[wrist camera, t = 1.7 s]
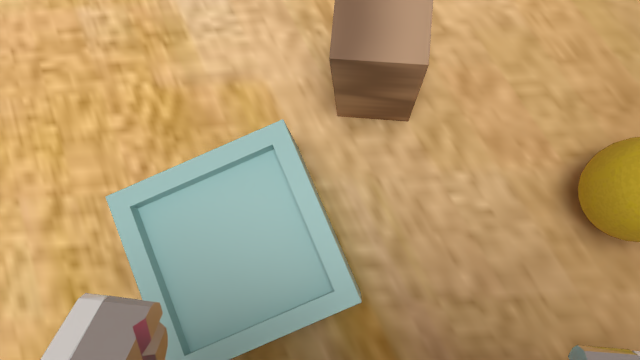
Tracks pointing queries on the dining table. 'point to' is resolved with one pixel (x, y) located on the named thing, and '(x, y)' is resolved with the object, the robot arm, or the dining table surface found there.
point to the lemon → (613, 190)
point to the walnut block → (379, 56)
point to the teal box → (234, 247)
